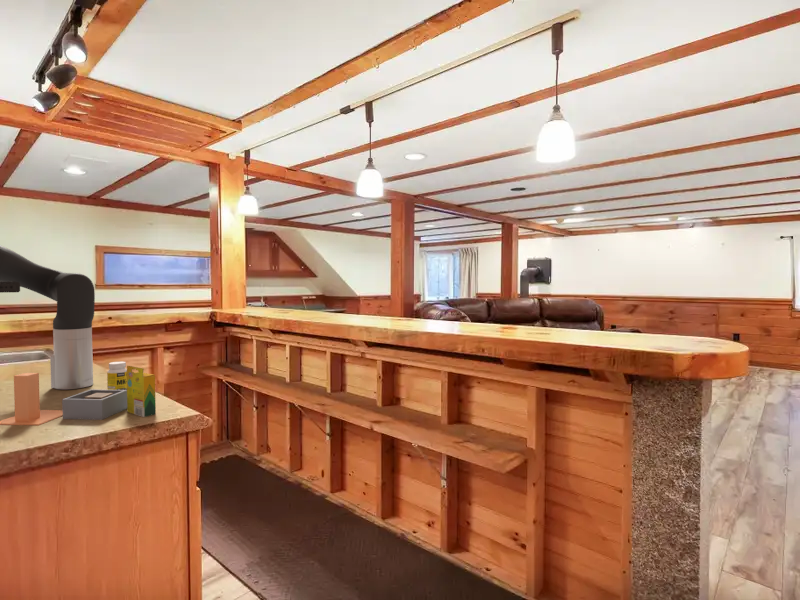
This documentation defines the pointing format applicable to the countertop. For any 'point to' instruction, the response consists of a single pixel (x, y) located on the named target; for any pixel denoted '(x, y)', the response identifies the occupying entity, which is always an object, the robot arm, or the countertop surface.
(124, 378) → the supplement bottle
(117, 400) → the tub
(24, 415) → the lid
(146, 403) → the crayon box
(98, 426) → the countertop surface
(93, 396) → the walnut block
